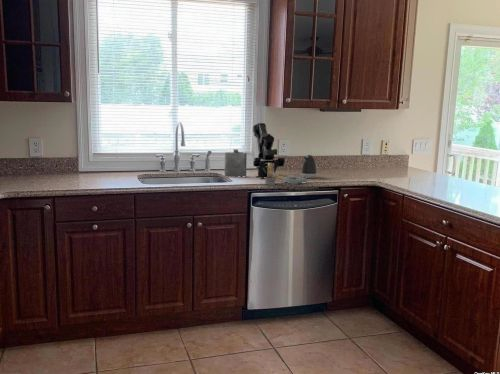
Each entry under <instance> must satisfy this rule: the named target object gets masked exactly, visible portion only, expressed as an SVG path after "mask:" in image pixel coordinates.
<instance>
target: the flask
mask: <svg viewBox="0 0 500 374" xmlns="http://www.w3.org/2000/svg"><path fill="white" fill-rule="evenodd" d="M247 156H248V155H247V152H243V151H239V149H236V148H235V149H233V151H231V152H230V151H229V152H228V151H227V152H226V151H225V152H224V177H225V176H246V177H247Z"/></svg>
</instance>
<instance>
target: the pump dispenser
mask: <svg viewBox="0 0 500 374" xmlns="http://www.w3.org/2000/svg"><path fill="white" fill-rule="evenodd" d="M303 158H304V159H303V162H302V165H301V175H302V178H304V177H307V178H306V179H314V178H316V176H317V173H318V167H317V162H316V160H315V157H314V156H313V155H312V154H308V155H306V156H303ZM313 177H314V178H313Z"/></svg>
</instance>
